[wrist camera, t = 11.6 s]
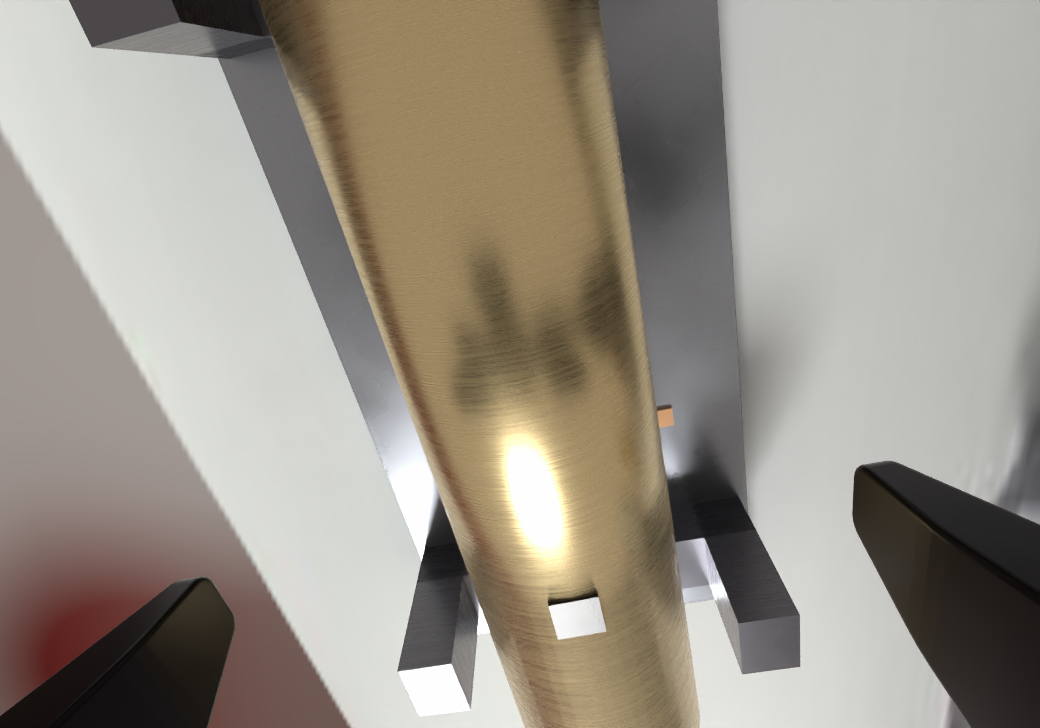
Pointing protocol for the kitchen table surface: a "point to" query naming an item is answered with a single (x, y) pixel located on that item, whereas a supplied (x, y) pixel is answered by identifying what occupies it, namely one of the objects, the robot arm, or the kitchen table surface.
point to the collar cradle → (663, 287)
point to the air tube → (511, 325)
